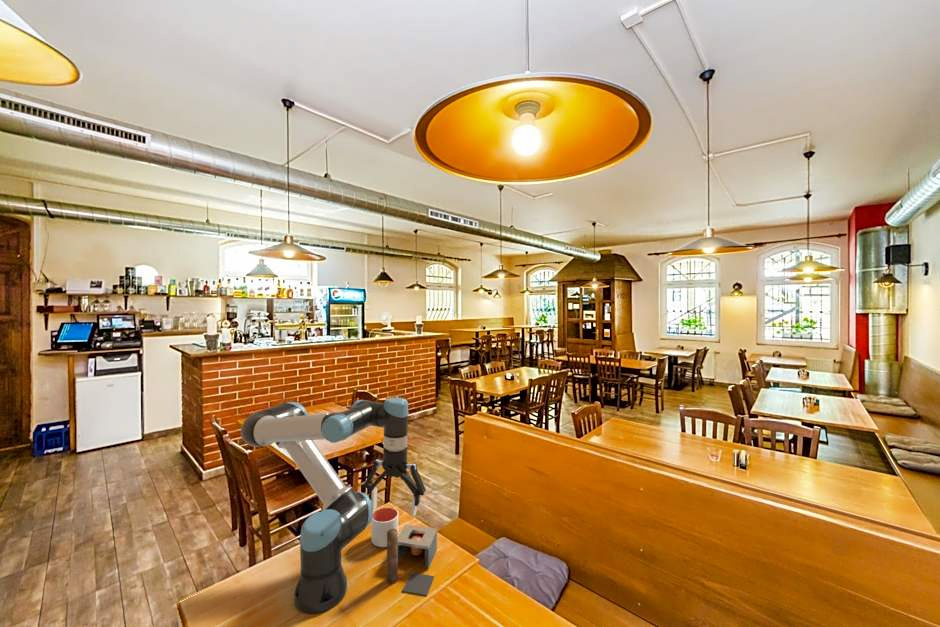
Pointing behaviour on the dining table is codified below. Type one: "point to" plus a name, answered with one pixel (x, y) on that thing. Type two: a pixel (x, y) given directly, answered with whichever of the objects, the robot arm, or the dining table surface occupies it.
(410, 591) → the coaster
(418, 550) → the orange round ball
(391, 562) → the rod
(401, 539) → the grey box with hole
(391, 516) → the cup
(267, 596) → the dining table surface
